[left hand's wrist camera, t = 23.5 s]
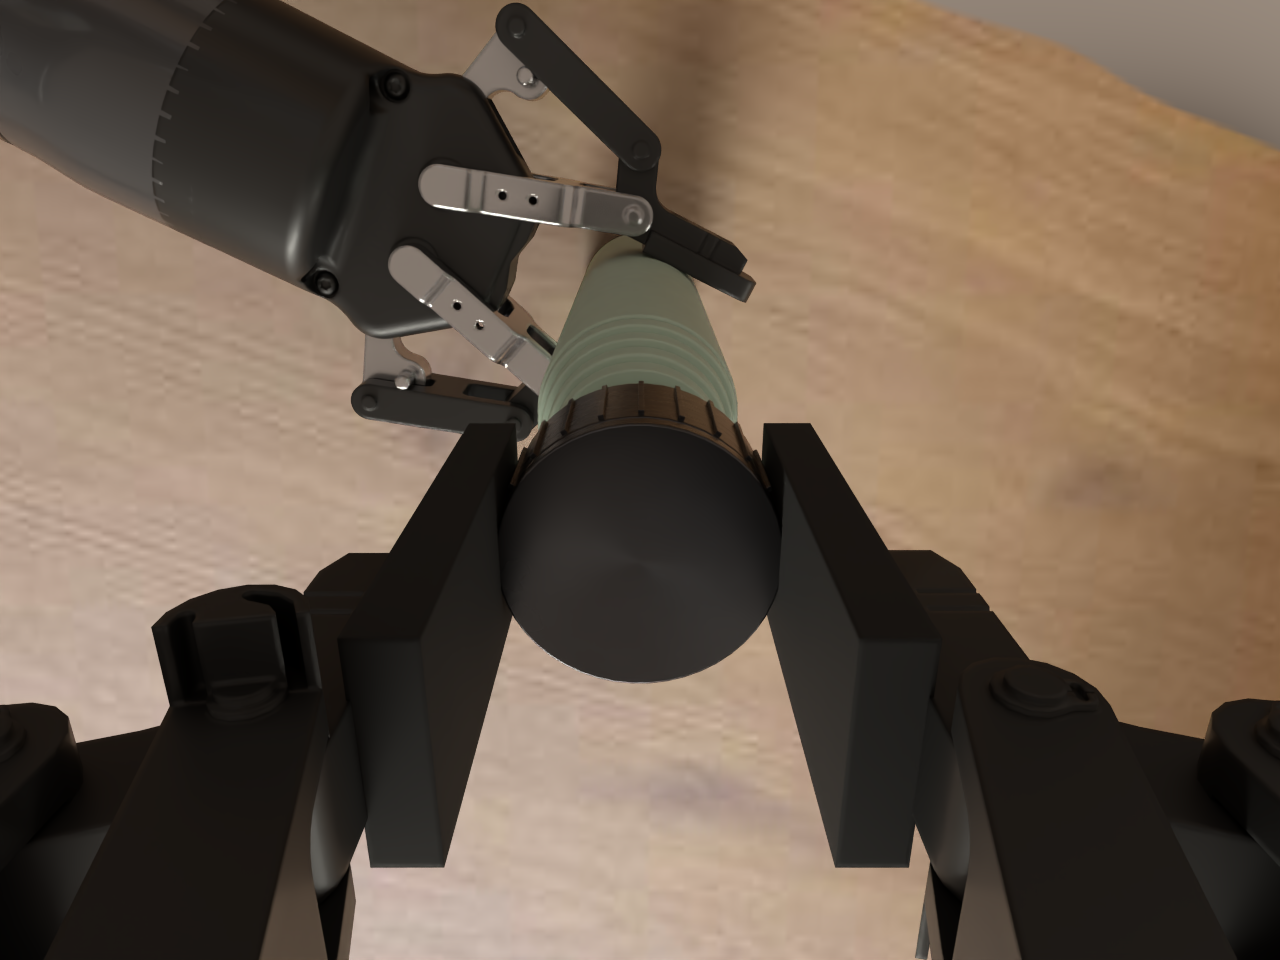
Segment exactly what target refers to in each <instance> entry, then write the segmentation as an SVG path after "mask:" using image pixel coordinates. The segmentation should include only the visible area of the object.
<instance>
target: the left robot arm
mask: <svg viewBox="0 0 1280 960" xmlns="http://www.w3.org/2000/svg"><path fill="white" fill-rule="evenodd" d="M517 462H518V457H517V439H516V423H469V424H468V426H467V428H466V429H465V431H464V432H463V434H462V436H461V437H460V439H459V441H458V442H457V444H456V445H455V447H454V449H453V450H452V452H451V454H450V455H449V457H448V458H447V460H446V462H445V463H444V465H443V467H442V468H441V470H440V471H439V473H438V475H437V476H436V478H435V480H434V481H433V483H432V484H431V486H430V488H429V489H428V491H427V493H426V494H425V496H424V497H423V499H422V501H421V502H420V504H419V506H418V507H417V509H416V511H415V512H414V514H413V515H412V517H411V519H410V520H409V522H408V524H407V525H406V527H405V528H404V530H403V532H402V533H401V535H400V537H399V538H398V540H397V541H396V543H395V545H394V546H393V548H392V550H391V551H390V553H348V554H347V555H345V556H343V557H342V558H340V559H339V560H337V561H335V562H334V563H332V564H330V565H329V566H327V567H326V568H324V569H322V570H321V571H319V573H318V574H317V575H316V577H315V578H314V579H313V581H312V582H311V583H310V585H309V586H308V587H307V589H306V590H305V591H304V595H303V594H301V593H300V592H298V591H297V590H296V589H291V588H287V587H283V586H278V585H243V586H238V587H232V588H226V589H220V590H216V591H213V592H210V593H207V594H204V595H201V596H198V597H195V598H192V599H189V600H188V601H186V602H184V603H182V604H180V605H179V606H177V607H175V608H173V609H171V610H169V611H168V612H166V613H165V614H164V615H163V616H162V617H161V618H160V619H159V620H158V621H157V622H156V623H155V624H154V625H153V626H152V627H151V628H152V632H153V637H154V641H155V645H156V649H157V653H158V658H159V662H160V666H161V670H162V675H163V679H164V683H165V687H166V692H167V696H168V700H169V704H170V707H169V709H168V711H167V713H166V715H165V717H164V719H163V721H162V723H161V725H160V726H157V727H153V728H149V729H145V730H141V731H136V732H131V733H126V734H121V735H116V736H111V737H105V738H100V739H95V740H90V741H85V742H79V743H76V742H75V738H74V735H73V731H72V728H71V724H70V721H69V718H68V716H67V715H66V714H64V713H63V712H62V711H61V710H59V709H58V708H57V707H56V706H50V705H44V704H38V703H22V704H11V705H0V960H349V952H350V944H351V936H352V928H353V920H354V912H355V904H356V899H355V892H354V885H353V878H352V872H351V866H350V862H351V859H352V857H353V854H354V852H355V849H356V847H357V844H358V842H359V839H360V837H361V834H362V832H363V829H364V827H365V833H366V840H367V846H368V853H369V860H370V867H371V868H432V867H444V866H445V862H446V859H447V855H448V851H449V848H450V844H451V840H452V837H453V833H454V829H455V825H456V822H457V818H458V814H459V811H460V807H461V803H462V800H463V796H464V792H465V789H466V785H467V781H468V777H469V774H470V770H471V766H472V763H473V759H474V755H475V752H476V748H477V744H478V740H479V737H480V733H481V729H482V726H483V722H484V718H485V715H486V711H487V707H488V704H489V700H490V696H491V692H492V689H493V685H494V681H495V678H496V674H497V670H498V667H499V663H500V659H501V655H502V652H503V648H504V644H505V641H506V637H507V633H508V630H509V626H510V622H511V619H512V613H511V611H510V609H509V607H508V605H507V604H506V601H505V599H504V596H503V593H502V590H501V580H500V564H499V549H498V526H499V522H500V518H501V515H502V513H503V510H504V507H505V505H506V502H507V499H508V497H509V494H510V491H511V489H509V488H508V486H509V483H510V480H511V478H512V475H513V473H514V470H515V468H516V465H517ZM762 464H763V466H764V469H765V471H766V474H767V476H768V479H769V482H770V484H771V487H772V489H773V491H771V492H769V493H770V496H771V498H772V501H773V503H774V506H775V509H776V511H777V514H778V517H779V521H780V525H781V529H782V539H781V555H780V571H779V585H778V591H777V594H776V597H775V600H774V602H773V604H772V606H771V608H770V610H769V612H768V613H767V617H768V621H769V624H770V628H771V632H772V635H773V639H774V643H775V646H776V650H777V654H778V658H779V661H780V665H781V669H782V672H783V676H784V680H785V683H786V687H787V691H788V694H789V698H790V702H791V706H792V709H793V713H794V717H795V720H796V724H797V728H798V731H799V735H800V739H801V743H802V746H803V750H804V754H805V757H806V761H807V765H808V768H809V772H810V776H811V780H812V783H813V787H814V791H815V794H816V798H817V802H818V805H819V809H820V813H821V817H822V820H823V824H824V828H825V831H826V835H827V839H828V842H829V846H830V850H831V853H832V857H833V861H834V865H835V868H909V863H910V856H911V849H912V842H913V836H914V829H915V824H916V826H917V829H918V831H919V834H920V836H921V839H922V841H923V844H924V846H925V849H926V851H927V853H928V856H929V858H930V866H929V872H928V878H927V885H926V891H925V897H924V904H923V910H922V916H921V922H920V929H919V935H918V942H917V949H916V956H915V958H919V959H925V960H927V956H928V951H929V945H930V951H931V959H932V960H1280V701H1271V700H1259V699H1242V700H1236V701H1230V702H1225V703H1223V704H1222V705H1221V706H1220V707H1219V708H1217V709H1216V710H1215V711H1214V712H1212V715H1211V718H1210V722H1209V725H1208V729H1207V732H1206V736H1205V739H1200V738H1195V737H1190V736H1185V735H1179V734H1174V733H1169V732H1164V731H1158V730H1153V729H1148V728H1143V727H1138V726H1134V725H1130V724H1126V723H1122V722H1118V720H1117V718H1116V716H1115V714H1114V712H1113V709H1112V707H1111V705H1110V704H1109V703H1108V702H1107V701H1106V699H1105V698H1104V697H1103V696H1102V694H1101V693H1100V692H1099V691H1098V690H1097V688H1095V687H1094V686H1092V685H1090V684H1089V683H1087V682H1086V681H1084V680H1083V679H1081V678H1080V677H1078V676H1077V675H1075V674H1073V673H1071V672H1068V671H1066V670H1063V669H1061V668H1058V667H1055V666H1053V665H1050V664H1048V663H1044V662H1039V661H1034V660H1029V658H1028V657H1027V656H1026V654H1025V653H1024V652H1023V650H1022V649H1021V648H1020V646H1019V645H1018V644H1017V642H1016V641H1015V640H1014V638H1013V637H1012V636H1011V634H1010V633H1009V632H1008V631H1007V629H1006V628H1005V627H1004V625H1003V624H1002V623H1001V621H1000V620H999V619H998V617H997V616H996V615H995V613H994V612H993V611H990V610H989V605H988V604H987V603H986V602H985V600H984V599H983V598H982V596H981V595H980V594H979V593H976V588H975V587H974V586H973V584H972V583H971V582H970V580H969V579H968V578H967V576H966V575H965V574H964V573H963V571H962V570H961V569H960V568H959V567H957V566H956V565H954V564H953V563H951V562H949V561H948V560H946V559H944V558H943V557H941V556H939V555H938V554H936V553H935V552H933V551H931V550H888V549H887V547H886V546H885V544H884V542H883V541H882V539H881V538H880V536H879V534H878V533H877V531H876V529H875V528H874V526H873V525H872V523H871V521H870V520H869V518H868V516H867V515H866V513H865V511H864V510H863V508H862V507H861V505H860V503H859V502H858V500H857V498H856V497H855V495H854V494H853V492H852V490H851V489H850V487H849V485H848V484H847V482H846V481H845V479H844V477H843V476H842V474H841V472H840V471H839V469H838V468H837V466H836V464H835V463H834V461H833V459H832V458H831V456H830V455H829V453H828V451H827V450H826V448H825V446H824V445H823V443H822V441H821V440H820V438H819V437H818V435H817V433H816V432H815V430H814V428H813V427H812V425H811V424H810V423H764V428H763V447H762Z"/></svg>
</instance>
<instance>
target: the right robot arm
mask: <svg viewBox="0 0 1280 960" xmlns="http://www.w3.org/2000/svg"><path fill="white" fill-rule="evenodd" d="M495 27H496V33H495V34H494V35H493V37H492V38H491V39H490V41H489V42H488V43H487V44H486V46H485V47H484V48H483V50H482V51H481V52H480V53H479V55H478V56H477V57H476V59H475V60H474V61H473V63H472V64H471V65H470V66H469V68H468V69H467V70H466V72H465V73H464V74H463V75H462V76H461V75H458V74H453V73H443V74H426V73H421V72H419V71H416V70H414V69H412V68H410V67H408V66H406V65H404V64H402V63H400V62H398V61H396V60H395V59H393V58H391V57H389V56H387V55H385V54H383V53H381V52H379V51H377V50H375V49H373V48H371V47H369V46H367V45H366V44H364V43H362V42H360V41H358V40H356V39H354V38H352V37H350V36H348V35H346V34H344V33H342V32H340V31H338V30H336V29H335V28H333V27H331V26H329V25H327V24H325V23H323V22H321V21H319V20H317V19H315V18H313V17H311V16H309V15H307V14H306V13H304V12H302V11H300V10H298V9H296V8H294V7H292V6H290V5H288V4H286V3H284V2H282V1H280V0H0V139H1V140H3V141H5V142H7V143H10V144H12V145H14V146H16V147H17V148H19V149H21V150H23V151H25V152H27V153H29V154H31V155H33V156H35V157H36V158H38V159H40V160H41V161H43V162H45V163H46V164H48V165H50V166H51V167H53V168H54V169H56V170H57V171H59V172H61V173H62V174H64V175H65V176H67V177H68V178H70V179H72V180H73V181H75V182H77V183H78V184H80V185H82V186H84V187H85V188H87V189H89V190H91V191H93V192H95V193H97V194H99V195H101V196H103V197H105V198H107V199H109V200H112V201H114V202H116V203H118V204H120V205H122V206H124V207H127V208H129V209H131V210H133V211H135V212H137V213H139V214H142V215H144V216H146V217H148V218H150V219H152V220H155V221H157V222H159V223H161V224H163V225H165V226H168V227H170V228H172V229H174V230H176V231H178V232H180V233H183V234H185V235H187V236H189V237H191V238H193V239H196V240H198V241H200V242H202V243H204V244H206V245H208V246H211V247H213V248H215V249H218V250H220V251H222V252H224V253H226V254H228V255H230V256H233V257H235V258H237V259H239V260H241V261H243V262H245V263H248V264H250V265H252V266H254V267H256V268H258V269H261V270H263V271H265V272H267V273H269V274H271V275H273V276H276V277H278V278H280V279H282V280H284V281H286V282H288V283H291V284H293V285H295V286H297V287H299V288H301V289H303V290H306V291H308V292H310V293H313V294H315V295H318V296H320V297H322V298H325V299H327V300H329V301H330V302H332V303H333V304H335V305H336V306H337V307H338V308H339V309H340V310H342V311H343V312H344V313H345V315H346V316H347V317H348V318H349V319H350V321H351V322H352V323H353V324H354V326H355V327H357V328H358V329H359V330H360V331H361V332H363V333H364V334H365V353H364V373H363V382H362V384H360V385H359V386H358V387H357V388H356V389H355V390H354V391H353V393H352V396H351V404H352V407H353V409H354V410H355V412H356V413H357V414H358V415H359V416H361V417H363V418H365V419H370V420H376V421H383V422H389V423H395V424H402V425H408V426H415V427H421V428H428V429H434V430H440V431H447V432H453V433H460V434H463V432H464V431H465V429H466V428H467V426H468V424H469V423H516V439H517V442H518V441H522V440H524V439H525V438H527V437H528V436H529V434H530V432H531V430H532V429H533V428H534V427H535V426H536V425H537V424H538V398H539V392H540V387H541V384H542V381H543V378H544V375H545V372H546V370H547V367H548V365H549V362H550V360H551V357H552V355H553V352H554V350H555V347H556V345H557V342H556V341H555V340H553V339H552V338H551V337H550V336H549V335H548V334H547V333H546V332H545V331H543V330H542V329H541V328H540V327H539V326H538V325H537V324H536V323H535V322H534V320H533V318H532V317H531V315H530V314H529V313H528V312H527V311H526V310H525V309H524V308H523V307H521V306H520V305H519V304H518V303H517V302H516V301H515V300H514V299H513V298H511V297H510V296H509V293H510V291H511V288H512V286H513V284H514V281H515V278H516V271H517V264H518V257H519V254H520V253H521V252H522V250H523V249H524V248H525V247H526V245H527V244H528V243H529V242H530V240H531V239H532V238H533V237H534V235H535V233H536V230H537V228H538V226H539V223H542V224H548V225H554V226H561V227H575V228H583V229H589V230H595V231H601V232H607V233H613V234H620V235H626V236H628V237H630V238H632V239H634V240H636V241H638V242H640V243H642V252H644V253H646V254H648V255H650V256H652V257H654V258H656V259H658V260H660V261H662V262H664V263H667V264H668V265H670V266H672V267H674V268H676V269H677V270H679V271H681V272H683V273H685V274H687V275H689V276H691V277H693V278H695V279H697V280H699V281H701V282H703V283H705V284H707V285H709V286H711V287H713V288H715V289H717V290H719V291H721V292H723V293H725V294H727V295H729V296H731V297H733V298H735V299H737V300H740V301H742V302H745V303H746V302H747V300H748V298H749V296H750V294H751V292H752V290H753V288H754V286H755V285H756V282H755V281H754V280H753V278H752V277H751V276H749V275H748V274H746V273H744V272H742V270H743V268H744V266H745V264H746V262H747V259H746V258H745V257H744V255H743V254H742V253H741V252H740V251H739V249H738V248H737V247H736V246H735V245H734V244H733V243H732V242H730V241H729V240H727V239H725V238H723V237H721V236H719V235H717V234H715V233H713V232H711V231H709V230H707V229H705V228H703V227H701V226H699V225H697V224H695V223H694V222H692V221H690V220H688V219H686V218H684V217H682V216H680V215H678V214H676V213H674V212H672V211H670V210H668V209H667V208H665V207H664V206H663V205H662V204H661V203H660V201H659V200H658V198H657V195H656V181H657V172H658V162H659V158H660V155H661V144H660V141H659V139H658V137H657V136H656V135H655V134H654V133H653V132H652V131H651V130H650V129H649V128H648V127H647V126H646V125H645V124H644V123H643V122H642V121H641V120H640V119H639V118H638V117H637V116H636V115H635V114H634V113H633V112H632V111H631V110H630V109H629V107H628V106H627V105H626V104H625V103H624V102H623V101H622V100H621V99H620V98H619V97H618V96H617V95H616V94H615V93H614V92H613V91H612V90H611V89H610V88H609V87H608V86H607V85H606V84H605V83H604V82H603V81H602V80H601V79H600V78H599V77H598V76H597V75H596V74H595V73H594V72H593V71H592V70H591V69H590V68H589V67H588V66H587V65H586V64H585V63H584V62H583V61H582V60H581V59H580V58H579V57H578V56H577V55H576V54H575V53H574V52H573V51H572V50H571V49H570V48H569V47H568V46H567V45H566V44H565V43H564V42H563V41H562V40H561V39H560V38H559V37H558V36H557V35H556V34H555V33H554V32H553V31H552V30H551V29H550V28H549V27H548V26H547V25H546V24H545V23H544V22H543V21H542V20H541V19H540V18H539V17H538V16H537V15H536V14H535V13H534V12H533V11H532V10H531V9H530V8H529V7H527V6H526V5H524V4H521V3H510V4H508V5H506V6H504V7H503V8H502V9H501V10H500V12H499V13H498V15H497V18H496V26H495ZM506 91H508V92H513V93H514V94H516V95H517V96H518V97H520V98H522V99H525V100H528V101H537V100H540V99H542V98H543V97H544V96H545V95H546V94H547V93H548V92H549V91H551V92H552V93H553V94H554V95H555V96H556V97H557V98H558V99H559V100H560V101H561V102H562V103H564V104H565V105H566V106H567V107H568V108H569V109H570V110H571V111H572V112H573V113H574V114H575V115H576V116H577V117H578V118H579V119H580V120H581V121H582V122H583V123H584V124H585V125H586V126H587V127H588V128H589V129H590V130H591V131H592V132H593V133H594V134H595V135H596V136H597V137H598V138H599V139H600V140H601V141H602V142H603V143H604V144H605V145H606V146H607V147H608V148H609V149H610V150H611V151H612V152H613V153H614V154H616V155H617V156H618V157H619V162H618V173H617V184H616V188H614V187H608V186H602V185H596V184H590V183H585V182H581V181H577V180H571V179H565V178H559V177H553V176H547V175H541V174H535V173H531V171H530V170H529V168H528V166H527V164H526V162H525V160H524V158H523V157H522V155H521V153H520V151H519V149H518V147H517V146H516V144H515V142H514V140H513V138H512V136H511V134H510V133H509V131H508V129H507V127H506V125H505V123H504V122H503V120H502V118H501V116H500V114H499V112H498V111H497V109H496V107H495V105H494V103H493V101H492V98H493V97H494V96H495V95H497V94H498V93H501V92H506ZM479 322H481V323H483V325H484V327H481V326H480V325H479ZM448 328H454V329H455V330H457V331H458V332H459V333H460V334H461V335H462V336H463V337H465V338H466V339H467V340H468V341H469V342H470V343H471V344H473V345H474V346H475V347H476V348H477V349H478V350H480V351H481V352H482V353H483V354H484V355H485V356H486V357H488V358H489V359H490V360H492V361H493V362H495V363H497V364H501V365H503V366H504V367H506V368H507V369H508V370H509V371H510V372H511V373H513V374H514V375H515V376H516V377H517V378H518V379H519V380H521V381H522V382H523V383H522V384H521V385H520V386H519V387H515V386H509V385H503V384H496V383H490V382H484V381H478V380H471V379H465V378H459V377H453V376H446V375H440V374H434V373H432V371H431V367H430V364H429V362H428V361H427V360H426V359H425V358H424V357H422V356H420V355H418V354H414V353H412V352H410V351H409V350H407V349H406V348H405V346H404V345H403V343H402V341H401V337H403V336H408V335H414V334H420V333H426V332H431V331H437V330H443V329H448Z"/></svg>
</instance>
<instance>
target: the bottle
mask: <svg viewBox="0 0 1280 960" xmlns="http://www.w3.org/2000/svg"><path fill="white" fill-rule="evenodd" d="M638 381H644V383H647V384H656V385H664V386H668V387H672V388H675V386H679V387H680V389H681V390H683V391H685V392H688V393H690V394H693V395H695V396H698V397H699V398H701V399H703V400H705V401H707V402H708V400H711V401H712V402H713V403H714V407H716V408H717V409H718V410H720V411H721V412H723V413H724V414H725V415H726V416H727V417H728V418H729V419H730V420H731V421H732V422H733V423H736V422H737V397H736V390H735V387H734V383H733V380H732V377H731V374H730V372H729V369H728V367H727V364H726V362H725V359H724V357H723V354H722V352H721V349H720V347H719V344H718V342H717V339H716V336H715V334H714V331H713V329H712V326H711V324H710V321H709V319H708V316H707V314H706V311H705V309H704V306H703V304H702V301H701V299H700V296H699V294H698V291H697V289H696V286H695V284H694V281H693V279H692V277H691V276H689V275H687V274H685V273H683V272H681V271H679V270H677V269H676V268H674V267H672V266H670V265H668V264H667V263H664V262H662V261H660V260H658V259H656V258H654V257H652V256H650V255H648V254H646V253H644V252H642V243H640V242H638V241H636V240H634V239H632V238H630V237H628V236H626V235H623V236H620V237H617V238H615V239H613V240H611V241H610V242H608V243H607V244H605V245H604V246H603V247H602V248H601V249H600V250H599V251H598V252H597V253H596V254H595V256H594V257H593V259H592V260H591V262H590V264H589V266H588V268H587V271H586V273H585V276H584V278H583V281H582V283H581V286H580V288H579V291H578V293H577V296H576V298H575V300H574V303H573V305H572V308H571V310H570V313H569V315H568V318H567V320H566V323H565V325H564V328H563V330H562V333H561V335H560V337H559V340H558V342H557V345H556V347H555V350H554V352H553V355H552V357H551V360H550V362H549V365H548V367H547V370H546V372H545V375H544V378H543V381H542V384H541V387H540V392H539V398H538V429H539V428H540V425H541V422H542V421H543V420H546V421H548V420H549V419H550V418H551V417H552V416H553V415H554V414H556V413H557V412H558V411H559V410H561V409H562V408H563V407H565V406H566V405H568V401H569V400H570V399H572V398H573V399H574V400H576V399H578V398H580V397H582V396H584V395H586V394H589V393H591V392H594V391H596V390H600V389H602V386H604V385H607V386H608V387H611V386H616V385H623V384H638Z"/></svg>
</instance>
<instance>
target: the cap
mask: <svg viewBox="0 0 1280 960" xmlns="http://www.w3.org/2000/svg"><path fill="white" fill-rule="evenodd" d="M508 488H509V489H511V491H510V494H509V497H508V499H507V502H506V505H505V507H504V510H503V513H502V515H501V518H500V522H499V526H498V549H499V564H500V580H501V590H502V593H503V596H504V599H505V601H506V604H507V605H508V607H509V609H510V611H511V613H512V615H513V616H514V618H515V620H516V621H517V622H518V624H519V625H520V626H521V628H522V629H523V630H524V632H525V633H526V634H527V635H528V636H529V637H530V638H531V639H532V640H533V641H534V642H535V643H536V644H537V645H538V646H539V647H540V648H542V649H543V650H544V651H545V652H546V653H548V654H549V655H550V656H552V657H553V658H555V659H557V660H558V661H560V662H561V663H563V664H564V665H567V666H569V667H571V668H573V669H575V670H577V671H579V672H582V673H585V674H588V675H590V676H593V677H596V678H601V679H605V680H610V681H614V682H624V683H656V682H664V681H670V680H674V679H678V678H683V677H686V676H689V675H692V674H694V673H697V672H700V671H702V670H704V669H706V668H708V667H710V666H712V665H715V664H717V663H718V662H720V661H721V660H723V659H724V658H726V657H727V656H729V655H730V654H732V653H733V652H734V651H735V650H737V649H738V648H739V647H740V646H741V645H742V644H744V643H745V642H746V641H747V640H748V638H749V637H750V636H751V635H752V634H753V633H754V632H755V631H756V630H757V628H758V627H759V625H760V624H761V623H762V621H763V620H764V618H765V617H766V615H767V613H768V612H769V610H770V608H771V606H772V604H773V602H774V600H775V597H776V594H777V591H778V585H779V571H780V555H781V539H782V529H781V525H780V521H779V517H778V514H777V511H776V509H775V506H774V503H773V501H772V498H771V496H770V493H769V492H771V491H773V489H772V487H771V484H770V482H769V479H768V476H767V474H766V471H765V469H764V466H763V464H762V461H761V458H760V456H759V453H758V451H757V450H754V451H753V450H752V448H751V446H750V444H749V443H748V441H747V439H746V437H745V436H744V435H743V432H742V429H741V426H740V424H739V423H738V422H736V423H733V422H732V421H731V420H730V419H729V418H728V417H727V416H726V415H725V414H724V413H723V412H721V411H720V410H718V409H717V408H716V407H714V403H713V402H712V401H711V400H708V402H707V401H705V400H703V399H701V398H699V397H698V396H695V395H693V394H690V393H688V392H685V391H683V390H681V389H680V387H679V386H675V388H672V387H668V386H664V385H656V384H647V383H644V381H638V384H623V385H616V386H611V387H608V386H607V385H604V386H602V389H600V390H596V391H594V392H591V393H589V394H586V395H584V396H582V397H580V398H578V399H576V400H574V399H573V398H572V399H570V400H569V401H568V405H566V406H565V407H563V408H562V409H561V410H559V411H558V412H557V413H556V414H554V415H553V416H552V417H551V418H550V419H549V420H548V421H546V420H543V421H542V422H541V425H540V428H539V431H538V433H537V434H536V435H535V437H534V438H533V439H532V441H531V443H530V445H529V447H528V448H525V447H524V448H523V450H522V452H521V455H520V457H519V460H518V462H517V465H516V468H515V470H514V473H513V475H512V478H511V480H510V483H509V486H508Z"/></svg>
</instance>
